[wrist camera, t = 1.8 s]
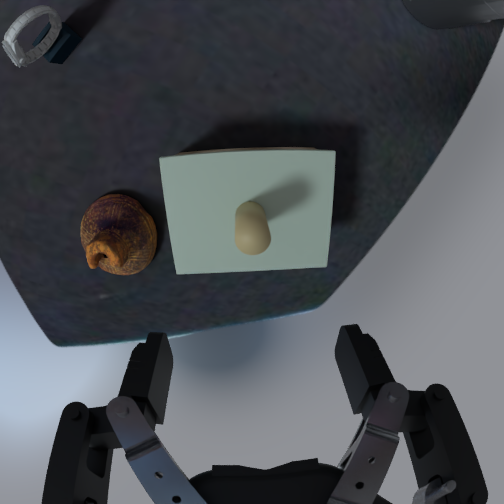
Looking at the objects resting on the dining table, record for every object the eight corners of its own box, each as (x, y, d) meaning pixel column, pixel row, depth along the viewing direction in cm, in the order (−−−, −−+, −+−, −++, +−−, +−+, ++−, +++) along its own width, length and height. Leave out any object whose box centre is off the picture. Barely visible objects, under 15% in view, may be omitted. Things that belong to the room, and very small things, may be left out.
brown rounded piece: (165, 202, 34) (149, 224, 28) (152, 278, 39) (139, 310, 33) (87, 184, 32) (59, 201, 25) (84, 259, 37) (62, 285, 31)
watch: (36, 57, 22) (-15, 54, 12) (72, 12, 19) (26, -6, 10) (54, 75, 24) (1, 74, 14) (91, 29, 21) (44, 10, 12)
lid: (332, 150, 26) (357, 161, 20) (324, 263, 32) (341, 295, 26) (161, 157, 25) (141, 169, 20) (178, 270, 31) (167, 304, 26)
